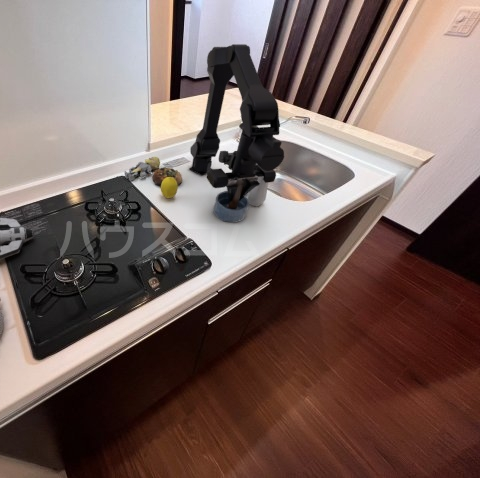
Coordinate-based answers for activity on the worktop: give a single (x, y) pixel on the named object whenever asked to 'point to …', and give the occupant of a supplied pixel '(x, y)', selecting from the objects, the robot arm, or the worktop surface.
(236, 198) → the muddler
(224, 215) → the bowl
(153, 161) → the toy
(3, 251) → the toy spacecraft
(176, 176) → the bread roll
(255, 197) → the salt shaker
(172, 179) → the lemon
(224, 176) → the robot arm
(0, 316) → the dish
